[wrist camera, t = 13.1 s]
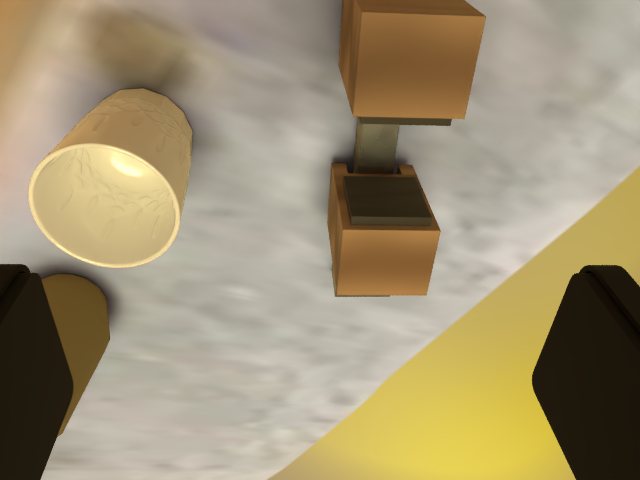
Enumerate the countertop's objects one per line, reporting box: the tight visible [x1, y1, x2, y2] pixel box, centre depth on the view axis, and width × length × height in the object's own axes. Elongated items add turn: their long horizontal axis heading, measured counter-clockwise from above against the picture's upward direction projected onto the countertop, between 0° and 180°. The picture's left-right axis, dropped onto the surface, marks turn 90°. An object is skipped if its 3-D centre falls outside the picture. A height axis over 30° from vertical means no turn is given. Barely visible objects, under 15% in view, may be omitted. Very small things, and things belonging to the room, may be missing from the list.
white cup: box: [28, 88, 193, 268], centre depth 33 cm, size 8×8×10 cm
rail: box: [332, 117, 399, 297], centre depth 36 cm, size 28×4×3 cm, turn 177°
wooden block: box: [339, 0, 486, 126], centre depth 30 cm, size 6×6×8 cm
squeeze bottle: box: [42, 274, 110, 437], centre depth 38 cm, size 8×8×18 cm
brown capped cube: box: [327, 163, 440, 295], centre depth 36 cm, size 6×6×8 cm
